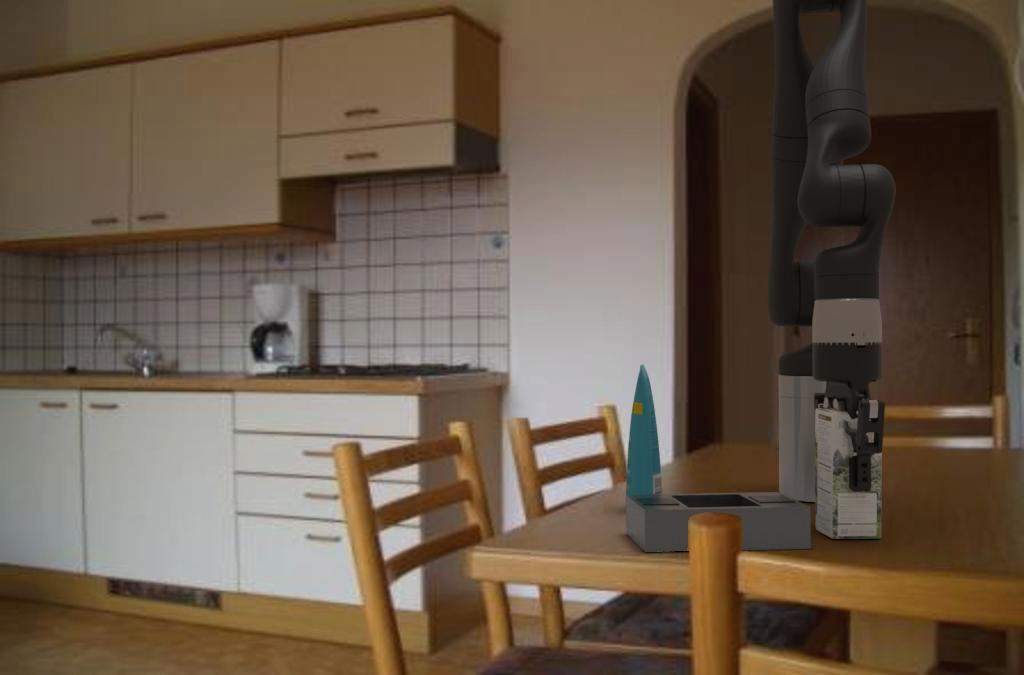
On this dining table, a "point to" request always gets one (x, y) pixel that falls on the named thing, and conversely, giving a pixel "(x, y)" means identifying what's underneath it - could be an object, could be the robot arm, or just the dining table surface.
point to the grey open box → (763, 513)
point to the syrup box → (843, 483)
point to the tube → (643, 442)
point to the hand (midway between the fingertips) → (847, 486)
